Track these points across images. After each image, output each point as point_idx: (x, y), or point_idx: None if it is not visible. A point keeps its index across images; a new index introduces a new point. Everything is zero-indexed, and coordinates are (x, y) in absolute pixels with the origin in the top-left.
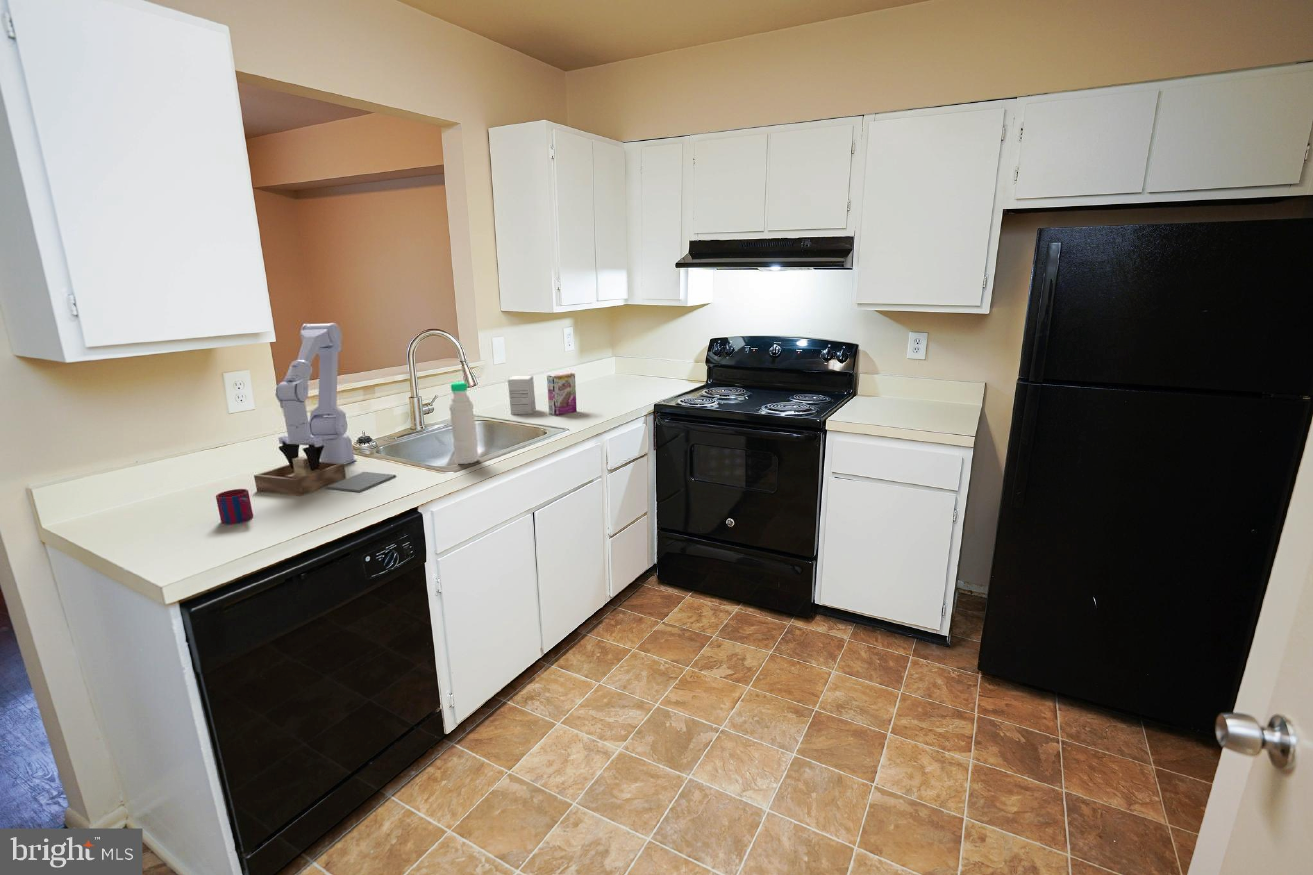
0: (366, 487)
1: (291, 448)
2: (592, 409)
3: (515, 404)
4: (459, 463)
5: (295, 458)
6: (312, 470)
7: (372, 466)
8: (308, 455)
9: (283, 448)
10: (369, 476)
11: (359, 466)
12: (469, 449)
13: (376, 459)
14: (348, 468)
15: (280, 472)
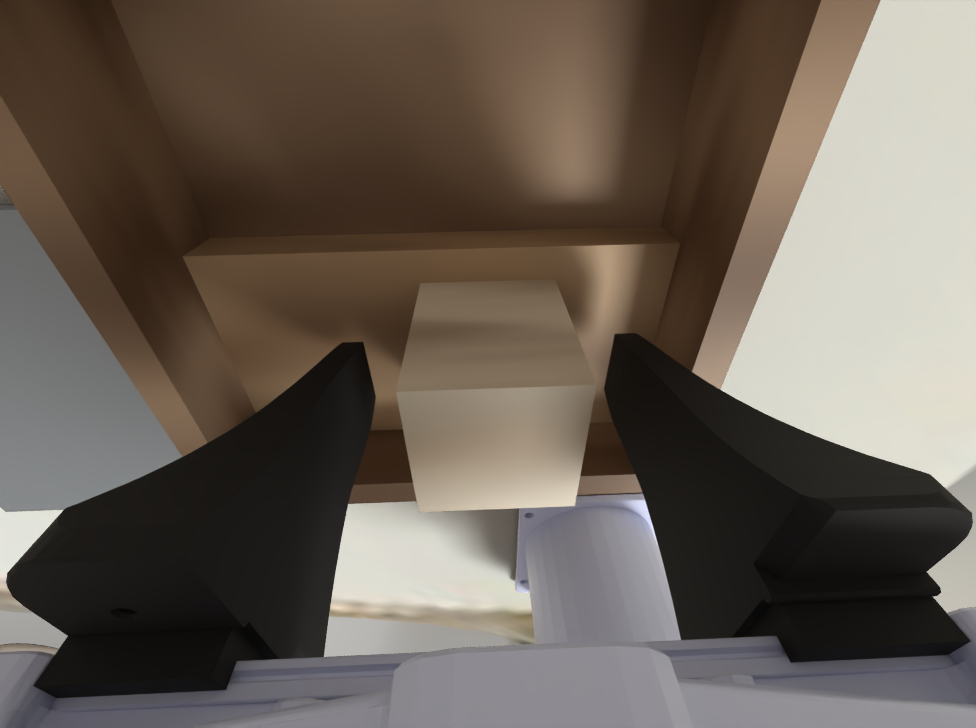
0: None
1: (716, 550)
2: None
3: None
4: (15, 645)
5: (568, 410)
6: (345, 343)
7: (352, 558)
8: (224, 455)
9: (802, 493)
10: (106, 460)
11: (419, 546)
12: None
13: (440, 606)
14: (446, 518)
15: (706, 232)
